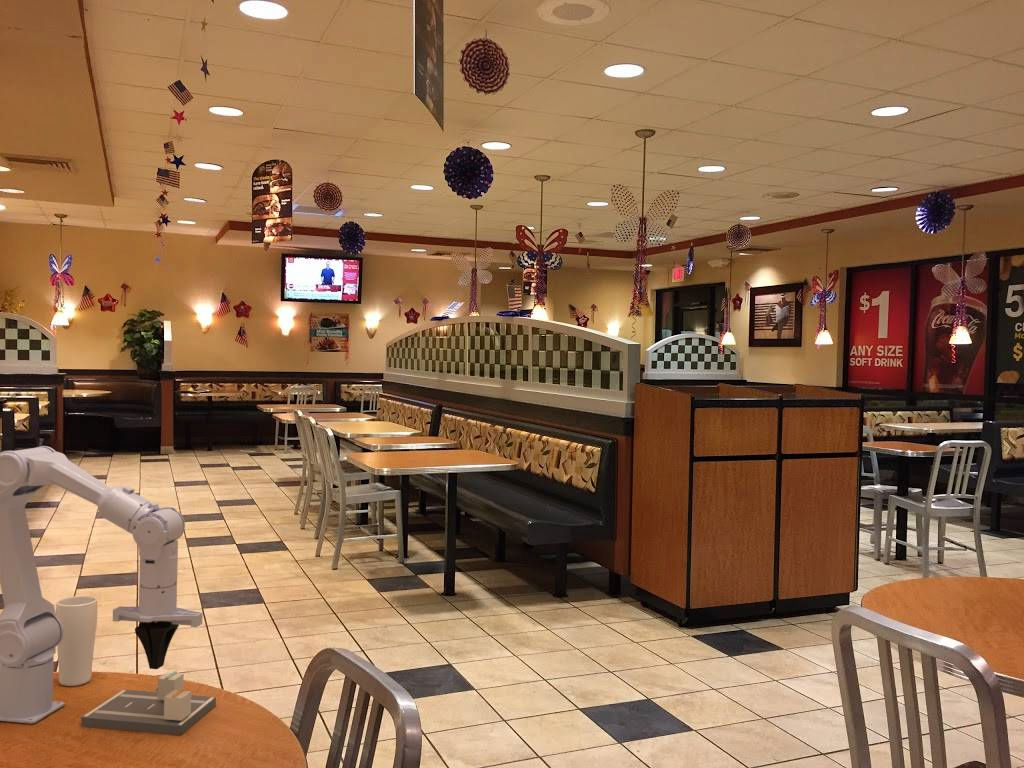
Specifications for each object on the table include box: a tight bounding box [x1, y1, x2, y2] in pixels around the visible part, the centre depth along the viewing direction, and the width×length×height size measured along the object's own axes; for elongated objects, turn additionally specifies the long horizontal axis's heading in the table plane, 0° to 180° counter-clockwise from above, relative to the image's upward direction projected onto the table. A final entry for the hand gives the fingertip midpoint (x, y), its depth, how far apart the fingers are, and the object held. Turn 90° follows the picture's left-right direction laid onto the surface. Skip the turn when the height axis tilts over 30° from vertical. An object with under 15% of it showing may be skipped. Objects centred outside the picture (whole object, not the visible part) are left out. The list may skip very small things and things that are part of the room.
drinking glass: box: [55, 595, 98, 687], centre depth 156 cm, size 7×7×15 cm
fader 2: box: [164, 688, 192, 721], centre depth 138 cm, size 3×3×4 cm
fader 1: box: [157, 671, 185, 700], centre depth 146 cm, size 3×3×4 cm
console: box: [80, 689, 217, 736], centre depth 142 cm, size 17×12×2 cm
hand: (156, 666), depth 139 cm, fingers closed
